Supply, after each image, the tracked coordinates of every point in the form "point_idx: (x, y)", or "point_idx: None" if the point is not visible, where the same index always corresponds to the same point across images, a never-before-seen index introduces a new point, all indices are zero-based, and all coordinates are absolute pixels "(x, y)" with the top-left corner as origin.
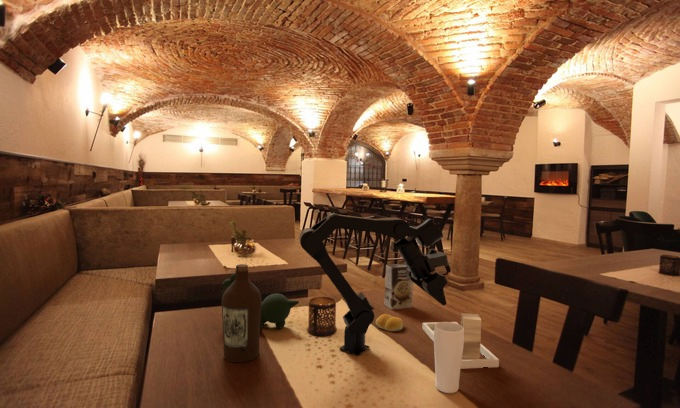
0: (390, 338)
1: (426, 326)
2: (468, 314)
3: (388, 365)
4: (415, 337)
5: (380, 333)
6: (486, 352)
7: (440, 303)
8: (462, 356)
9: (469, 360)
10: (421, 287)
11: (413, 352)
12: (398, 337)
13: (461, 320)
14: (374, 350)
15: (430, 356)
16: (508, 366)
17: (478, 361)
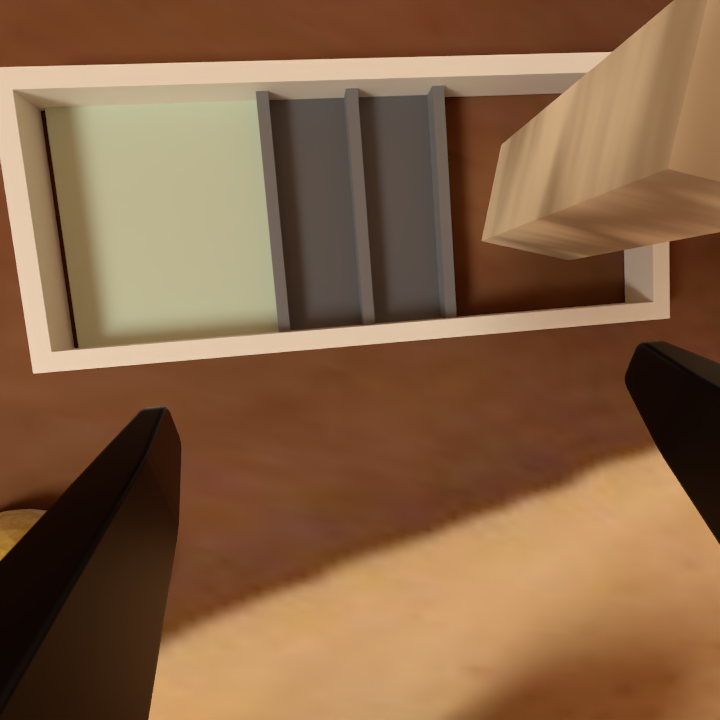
0: (248, 611)
1: (118, 362)
2: (712, 96)
3: (586, 652)
4: (226, 450)
5: (166, 666)
6: (549, 78)
7: (652, 430)
8: (583, 256)
9: (664, 242)
10: (144, 718)
11: (446, 505)
12: (230, 560)
13: (630, 192)
14: (418, 711)
15: (497, 420)
16: (631, 9)
17: None
